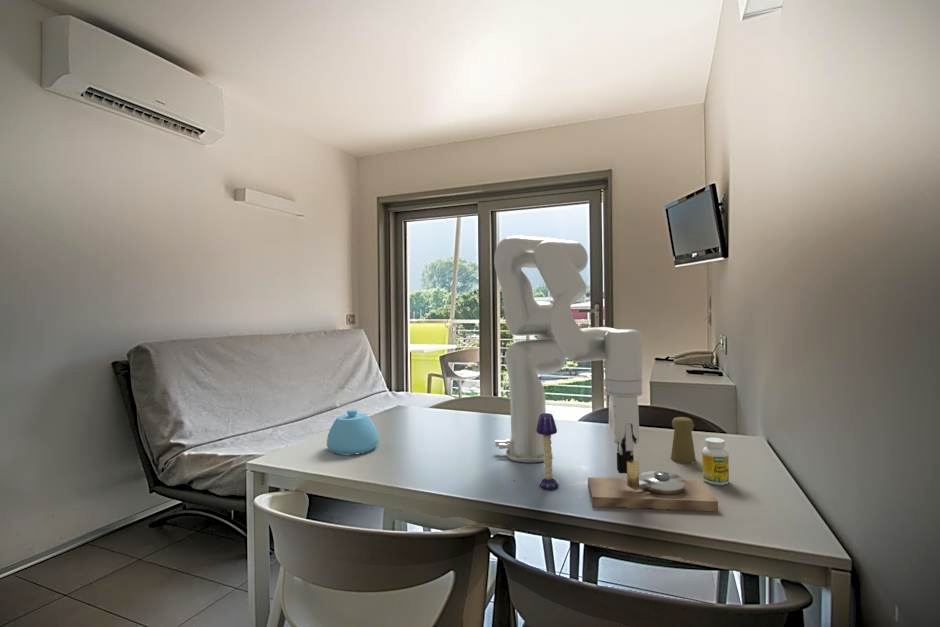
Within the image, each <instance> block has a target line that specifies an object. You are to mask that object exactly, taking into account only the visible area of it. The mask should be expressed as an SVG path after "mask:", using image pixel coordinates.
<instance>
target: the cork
mask: <svg viewBox="0 0 940 627" xmlns="http://www.w3.org/2000/svg"><path fill="white" fill-rule="evenodd" d="M694 424H695V423H694V422H693V419H691V418H689V417H685V416H676V417H674V418H673V419H672V421H671V426H672V429H673V439H672V446H671V454H670V460H671V459H672V460H671V461H673V460H674V461H673V462H675V461H677V462H676V463H678V462H680V463H679V464H686V463H689V464H693V463H692V462H695V461H696V462H697V459H696V453H695V446H694V440H693V432H692V431H693V430H694V426H695V425H694ZM696 462H695V463H696Z"/></svg>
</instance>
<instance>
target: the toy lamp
mask: <svg viewBox="0 0 940 627" xmlns="http://www.w3.org/2000/svg"><path fill="white" fill-rule="evenodd" d="M536 432H537V433H538V434H541V435H543V438H544V441H543V443H544V452H545V453H544V458H545V460H544V461H543V463H544V468H543V469H544V478H543V479H541V480H540V482H539V488H540V489H541V488H542V490H543V491H555V490H558V489H559V484H558V481H557V480H556V479H555V478H553V472H552V471H553V466H552V465H553V461H552V458H553V453H552V454H551V451H552V450H553V449H552V435H555V434H557V432H558V428H557V425H556V421H555V419H554V415H553V414H552V413H550V412H549V413H548V412H546V413H543V414H540V416H539V420H538V424H537V429H536Z"/></svg>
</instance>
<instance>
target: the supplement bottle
mask: <svg viewBox="0 0 940 627" xmlns="http://www.w3.org/2000/svg"><path fill="white" fill-rule="evenodd" d="M704 445H705V446H704V447H703V448H702V456H701V457H702V480H703V481H704V482H705V481H706V483H707V482H708V484H710V483H711V484H710V485H713V484H716V485H715V486H725V484H726V485H728V483H729V482H730V479H729V478H730V476H729V475H730V472H729V471H730V470H729V469H730V467H729V464H730V462H729V461H730V460H729V459H730V458H729V452H728V450H727V449H726V448H725V447H726V442H725V440H724V439H723V438H719V437H706V438H705V440H704Z"/></svg>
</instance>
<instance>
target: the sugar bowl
mask: <svg viewBox="0 0 940 627" xmlns="http://www.w3.org/2000/svg"><path fill="white" fill-rule="evenodd" d="M346 412H347V413H345V414H341V415H339V416H337V417H336V419H335V420H334V421H333V423H332V425H331V427H330V429H329V431H328V434H327V440H326V447H327V448H328V450H329V451H330V452H331V453H333V454H334V453H337V454H356V453H362V452H366V453H368V452H367V451H369V452H371V451H373V450H374V449H375V448H376V446H377V445H378V443H379V440H380V438H379V432H378V430H377V427H376V425H375V424H374V422H373V421H372V419H371V418H370V417H369V416H368V415H367V413H361V412H360V413H359V412H358V410H357V409H348V410H347V411H346ZM372 449H373V450H372ZM370 450H371V451H370ZM337 454H336V455H337ZM362 454H363V453H362Z"/></svg>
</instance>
